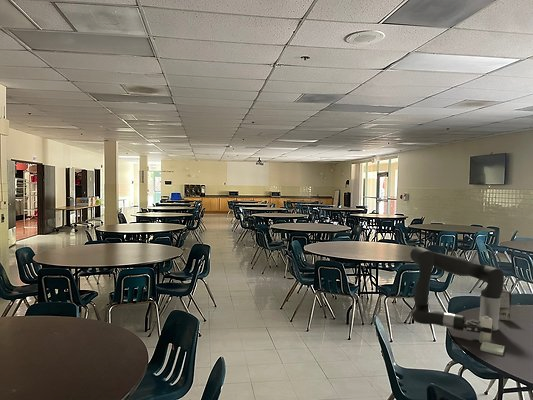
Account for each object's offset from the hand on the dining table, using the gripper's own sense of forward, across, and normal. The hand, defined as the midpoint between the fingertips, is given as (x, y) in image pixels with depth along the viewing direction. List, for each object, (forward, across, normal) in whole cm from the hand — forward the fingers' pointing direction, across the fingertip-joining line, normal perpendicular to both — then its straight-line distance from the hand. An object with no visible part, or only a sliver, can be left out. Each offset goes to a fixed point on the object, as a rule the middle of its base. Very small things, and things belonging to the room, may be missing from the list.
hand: (491, 329), depth 194 cm
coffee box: (0, +50, +7) cm, 50 cm away
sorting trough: (+1, -8, +7) cm, 11 cm away
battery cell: (-3, 0, +7) cm, 7 cm away
